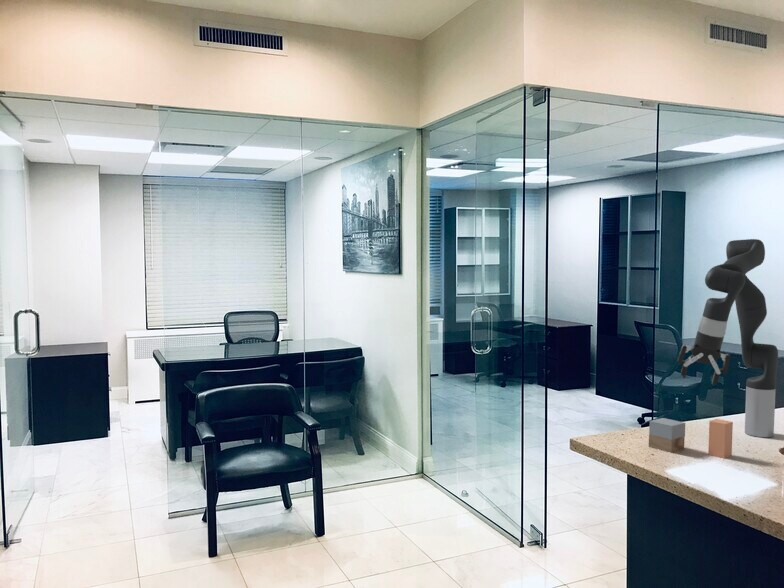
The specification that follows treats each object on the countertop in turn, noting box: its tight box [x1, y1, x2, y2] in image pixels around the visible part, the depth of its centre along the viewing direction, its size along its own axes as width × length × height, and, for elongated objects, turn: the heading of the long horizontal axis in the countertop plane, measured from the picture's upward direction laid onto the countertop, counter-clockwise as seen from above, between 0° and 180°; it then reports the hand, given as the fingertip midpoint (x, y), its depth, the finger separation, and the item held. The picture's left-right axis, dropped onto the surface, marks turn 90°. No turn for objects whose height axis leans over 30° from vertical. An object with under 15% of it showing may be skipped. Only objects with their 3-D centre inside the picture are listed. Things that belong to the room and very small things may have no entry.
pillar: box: [707, 418, 734, 459], centre depth 202 cm, size 5×5×11 cm
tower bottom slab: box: [648, 433, 686, 454], centre depth 210 cm, size 8×8×4 cm
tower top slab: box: [648, 417, 686, 440], centre depth 210 cm, size 8×8×4 cm
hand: (698, 380), depth 198 cm, fingers open, 8 cm apart
